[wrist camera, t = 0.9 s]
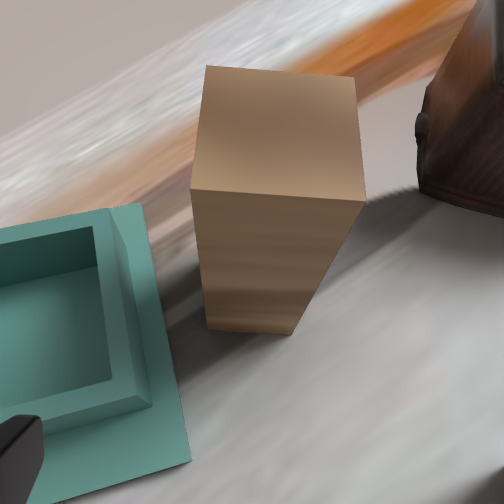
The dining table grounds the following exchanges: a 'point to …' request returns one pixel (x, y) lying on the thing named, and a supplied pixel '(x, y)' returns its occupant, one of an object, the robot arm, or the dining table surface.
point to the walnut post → (272, 192)
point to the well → (88, 351)
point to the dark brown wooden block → (467, 117)
